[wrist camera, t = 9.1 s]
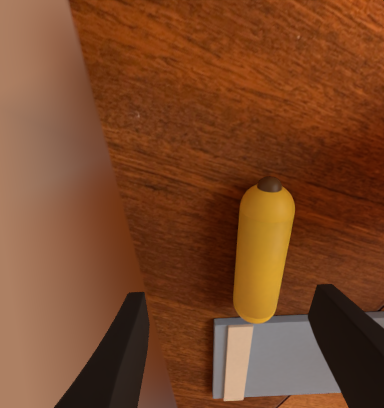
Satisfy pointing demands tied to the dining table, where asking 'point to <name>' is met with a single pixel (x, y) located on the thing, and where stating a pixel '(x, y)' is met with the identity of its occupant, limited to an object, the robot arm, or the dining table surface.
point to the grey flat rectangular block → (270, 358)
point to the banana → (262, 249)
